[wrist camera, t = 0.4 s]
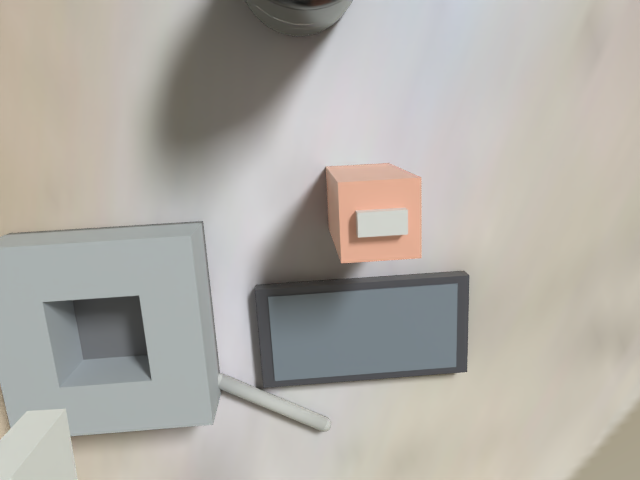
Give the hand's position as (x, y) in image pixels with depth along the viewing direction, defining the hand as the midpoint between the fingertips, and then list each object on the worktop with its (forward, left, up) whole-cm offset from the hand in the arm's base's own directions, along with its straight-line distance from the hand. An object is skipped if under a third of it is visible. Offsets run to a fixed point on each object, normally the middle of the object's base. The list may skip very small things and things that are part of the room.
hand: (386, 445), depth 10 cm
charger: (-2, +2, -22) cm, 22 cm away
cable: (+12, -4, -22) cm, 26 cm away
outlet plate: (+5, -14, -22) cm, 26 cm away
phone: (+7, +2, -22) cm, 23 cm away
